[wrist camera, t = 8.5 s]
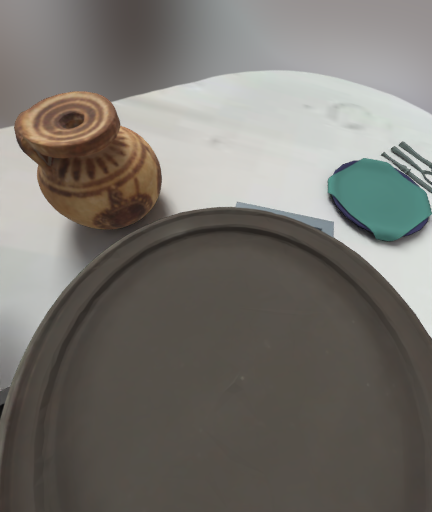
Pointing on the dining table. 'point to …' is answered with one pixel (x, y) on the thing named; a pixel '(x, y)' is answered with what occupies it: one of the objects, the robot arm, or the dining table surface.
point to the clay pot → (89, 160)
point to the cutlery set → (382, 195)
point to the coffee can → (222, 379)
